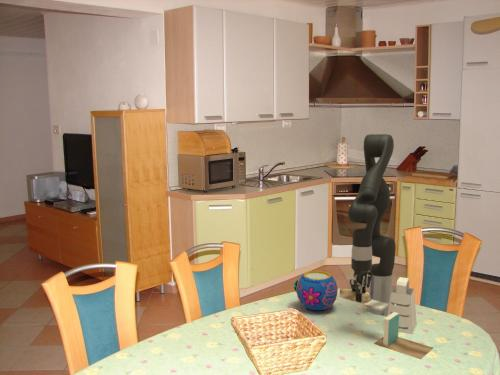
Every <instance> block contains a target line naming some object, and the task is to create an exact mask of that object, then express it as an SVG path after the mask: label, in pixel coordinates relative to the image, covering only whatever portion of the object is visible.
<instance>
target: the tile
mask: <svg viewBox="0 0 500 375" xmlns="http://www.w3.org/2000/svg"><path fill="white" fill-rule="evenodd" d="M398 328H400V327H399V313H396V312H393V313H392V314H390V315H389V316H385V317H384V318H383V335H382V337H383V345H386V346H389V345H390V344H391V343H393V342H394V341H395V340H397V339H398V337H399V332H398Z"/></svg>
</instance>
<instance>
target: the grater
mask: <svg viewBox="0 0 500 375" xmlns="http://www.w3.org/2000/svg"><path fill="white" fill-rule="evenodd" d="M390 312H391V313H390ZM393 312H396V313H399V327H398V333H405V334H409V335H410V334H411V335H413V334H414V332H415V330H416V326H417V325H418V324H417V311H416V297H415V288H411V287H410V278H408V277H403V276H402V277H401V276H400V277H398V279H397V281H396V285H394V287H392V292H391V297H390V303H389V309H388V315H387V316H389V315H390V314H392V313H393ZM387 316H386V317H387Z"/></svg>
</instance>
